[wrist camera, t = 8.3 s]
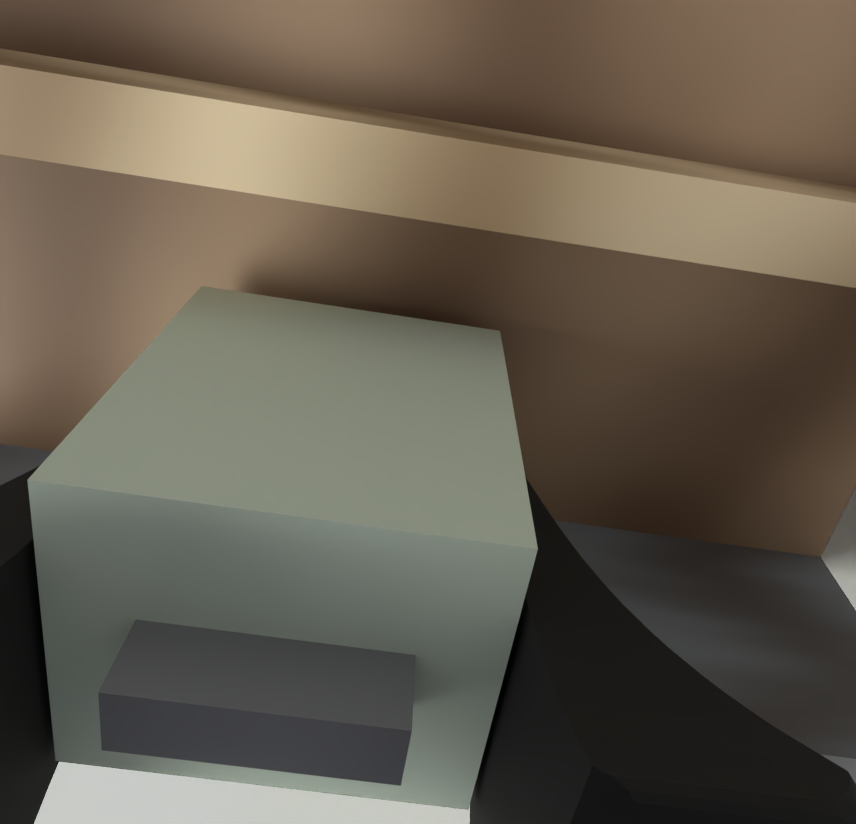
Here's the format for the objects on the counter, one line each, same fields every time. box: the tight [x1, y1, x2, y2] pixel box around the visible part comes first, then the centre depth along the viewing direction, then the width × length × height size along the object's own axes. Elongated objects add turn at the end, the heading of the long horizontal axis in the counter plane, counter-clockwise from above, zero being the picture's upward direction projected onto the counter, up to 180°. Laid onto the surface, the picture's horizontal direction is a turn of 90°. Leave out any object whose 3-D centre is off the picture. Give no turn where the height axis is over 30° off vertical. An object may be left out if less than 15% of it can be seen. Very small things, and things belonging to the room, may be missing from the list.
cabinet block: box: [28, 286, 538, 810], centre depth 11 cm, size 5×4×7 cm
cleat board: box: [0, 0, 856, 783], centre depth 11 cm, size 18×14×6 cm
